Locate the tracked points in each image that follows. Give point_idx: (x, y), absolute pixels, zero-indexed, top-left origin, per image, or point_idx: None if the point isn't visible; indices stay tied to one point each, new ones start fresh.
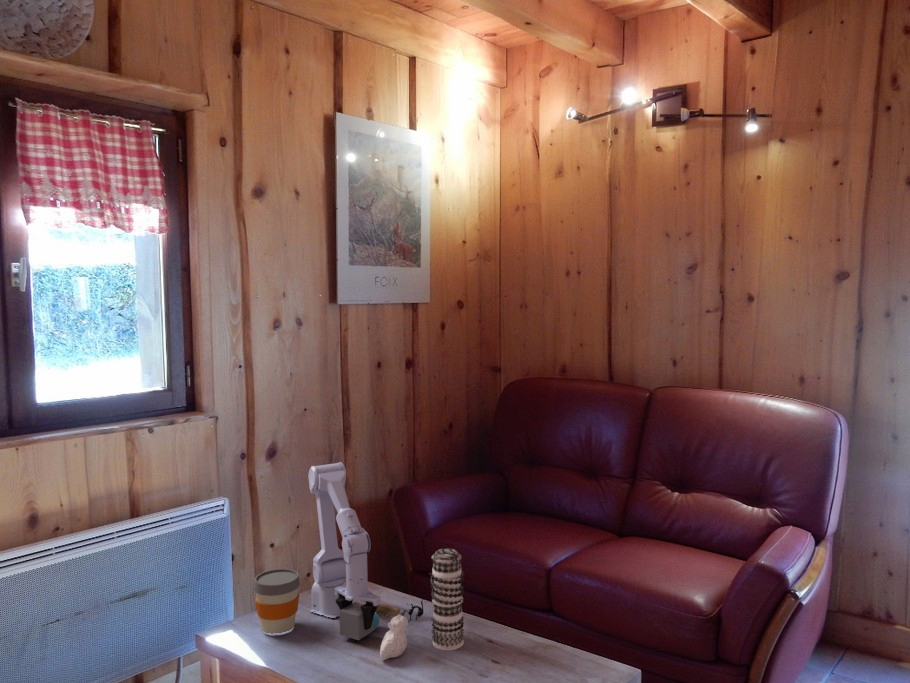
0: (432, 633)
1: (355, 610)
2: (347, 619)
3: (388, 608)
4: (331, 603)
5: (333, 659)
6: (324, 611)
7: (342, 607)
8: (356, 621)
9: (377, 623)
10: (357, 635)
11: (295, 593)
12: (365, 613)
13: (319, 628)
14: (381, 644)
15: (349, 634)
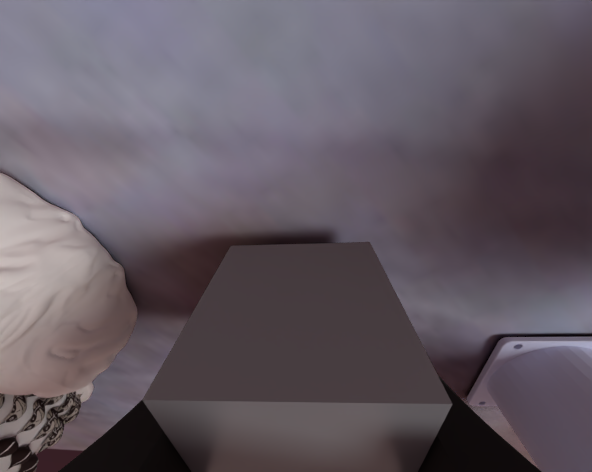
0: (17, 395)
1: (279, 450)
2: (313, 330)
3: None
4: (581, 414)
5: (229, 6)
6: (579, 359)
7: (454, 452)
8: (199, 336)
9: None
10: (231, 259)
11: None
12: (109, 452)
13: (537, 260)
14: (40, 252)
15: (296, 252)
